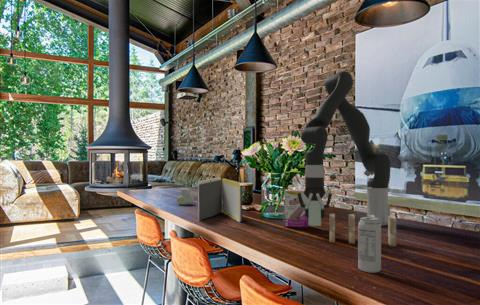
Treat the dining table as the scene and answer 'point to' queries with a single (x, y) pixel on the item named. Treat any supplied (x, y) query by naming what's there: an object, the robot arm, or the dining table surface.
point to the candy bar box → (294, 209)
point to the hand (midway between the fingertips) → (314, 217)
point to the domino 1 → (314, 214)
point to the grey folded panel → (219, 198)
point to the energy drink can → (369, 245)
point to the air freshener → (185, 197)
